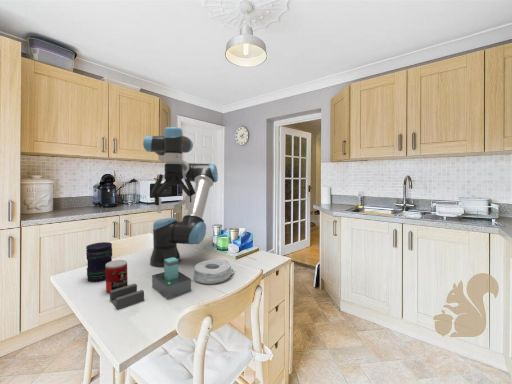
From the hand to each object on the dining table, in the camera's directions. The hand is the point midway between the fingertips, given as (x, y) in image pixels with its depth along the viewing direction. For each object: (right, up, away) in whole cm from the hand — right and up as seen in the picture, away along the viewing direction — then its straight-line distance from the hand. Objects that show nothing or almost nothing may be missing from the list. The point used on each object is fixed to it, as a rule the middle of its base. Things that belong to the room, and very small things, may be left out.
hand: (174, 211), depth 108 cm
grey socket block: (+2, -31, -8) cm, 33 cm away
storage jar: (-34, -30, +1) cm, 45 cm away
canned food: (-20, -31, -9) cm, 38 cm away
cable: (+17, -31, +4) cm, 36 cm away
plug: (+2, -31, -8) cm, 32 cm away
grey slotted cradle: (-12, -32, -18) cm, 38 cm away
